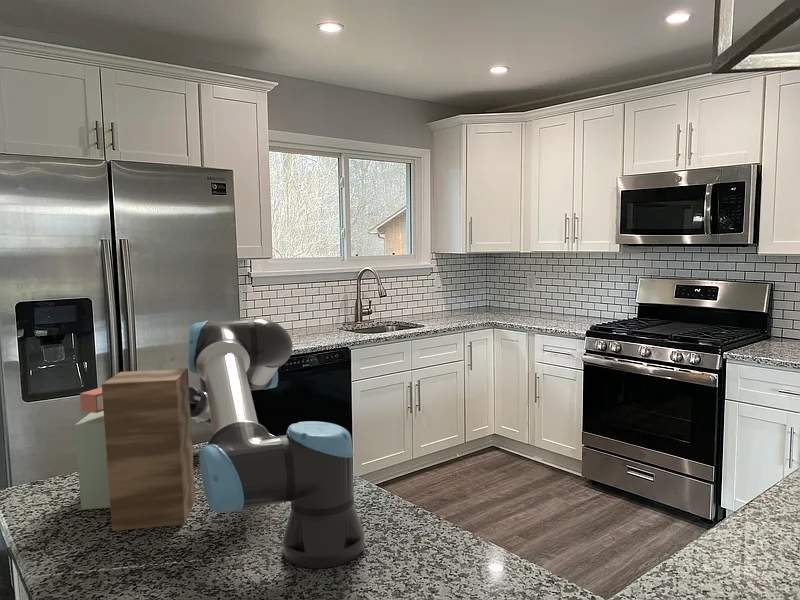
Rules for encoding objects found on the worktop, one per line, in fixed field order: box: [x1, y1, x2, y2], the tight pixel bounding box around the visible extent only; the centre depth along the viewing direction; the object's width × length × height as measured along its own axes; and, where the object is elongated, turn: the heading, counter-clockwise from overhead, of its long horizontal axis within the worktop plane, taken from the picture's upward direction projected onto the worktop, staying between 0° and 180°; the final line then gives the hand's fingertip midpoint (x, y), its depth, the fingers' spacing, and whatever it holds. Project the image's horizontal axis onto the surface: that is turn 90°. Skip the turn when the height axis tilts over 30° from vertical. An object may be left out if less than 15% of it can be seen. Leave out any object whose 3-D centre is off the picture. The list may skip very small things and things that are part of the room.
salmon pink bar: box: [79, 386, 104, 413], centre depth 140 cm, size 22×4×4 cm, turn 159°
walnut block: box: [101, 368, 196, 532], centre depth 126 cm, size 12×14×30 cm
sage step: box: [74, 411, 110, 511], centre depth 138 cm, size 14×12×19 cm
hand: (134, 377), depth 142 cm, fingers closed on salmon pink bar, 5 cm apart
